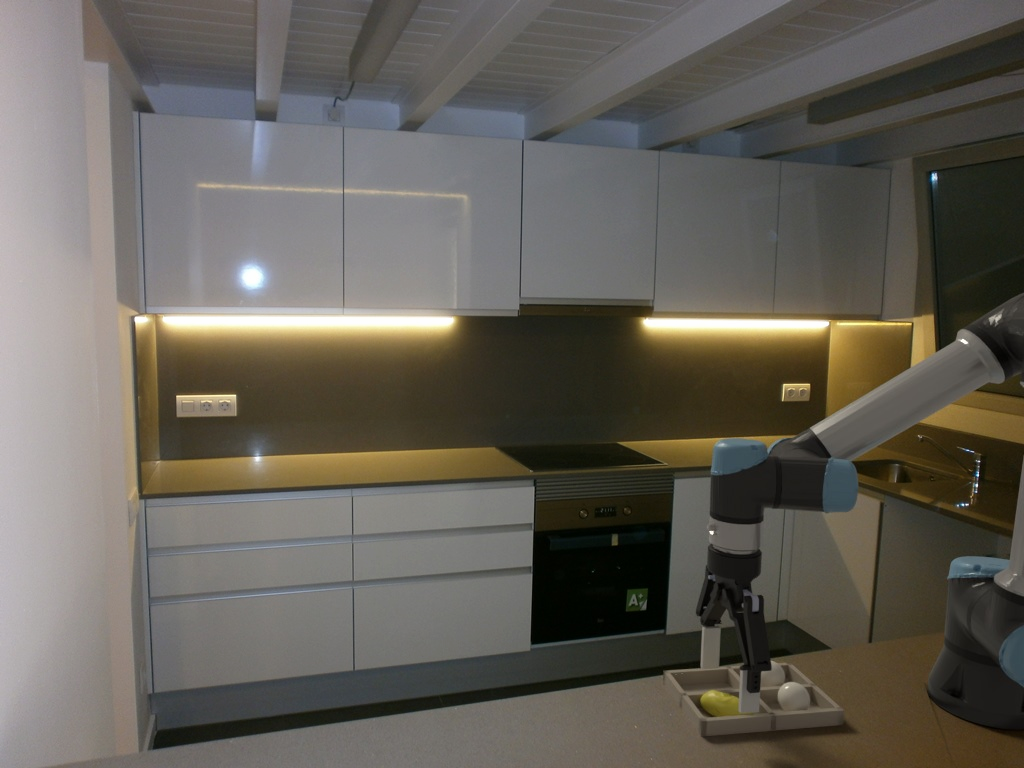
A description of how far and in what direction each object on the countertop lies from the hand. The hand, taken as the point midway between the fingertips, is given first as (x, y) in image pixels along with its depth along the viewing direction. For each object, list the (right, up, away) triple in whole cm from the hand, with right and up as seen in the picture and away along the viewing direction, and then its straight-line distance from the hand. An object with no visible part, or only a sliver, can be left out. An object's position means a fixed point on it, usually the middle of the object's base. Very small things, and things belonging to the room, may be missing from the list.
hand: (728, 688), depth 111 cm
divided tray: (+5, -5, +5) cm, 8 cm away
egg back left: (+10, -5, +2) cm, 12 cm away
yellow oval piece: (0, -5, 0) cm, 5 cm away
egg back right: (+9, -4, +9) cm, 13 cm away
